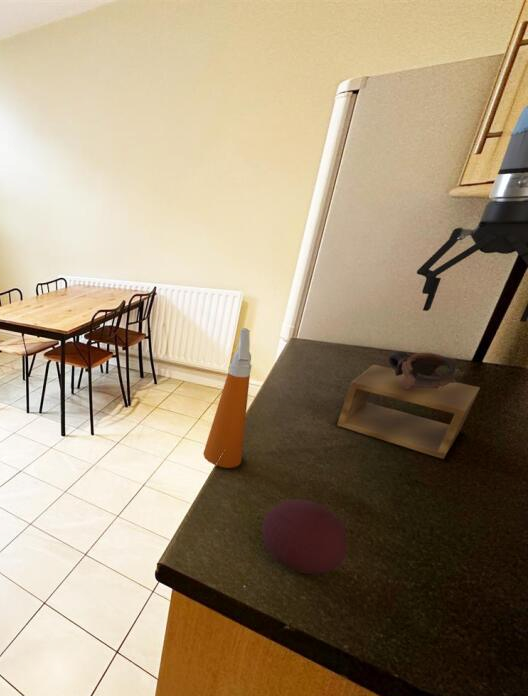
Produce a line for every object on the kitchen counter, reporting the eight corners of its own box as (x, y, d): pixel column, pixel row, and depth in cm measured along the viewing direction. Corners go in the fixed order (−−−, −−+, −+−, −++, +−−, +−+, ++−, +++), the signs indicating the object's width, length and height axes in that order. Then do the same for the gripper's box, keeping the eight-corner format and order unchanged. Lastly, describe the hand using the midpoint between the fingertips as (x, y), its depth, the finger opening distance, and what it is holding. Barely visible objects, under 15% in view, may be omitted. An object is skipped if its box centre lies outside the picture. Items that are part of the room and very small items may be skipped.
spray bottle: (239, 444, 89) (265, 326, 79) (241, 471, 80) (271, 343, 70) (204, 437, 92) (224, 323, 82) (202, 464, 83) (225, 339, 73)
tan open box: (459, 432, 91) (480, 387, 86) (443, 459, 82) (466, 410, 78) (359, 404, 104) (373, 364, 100) (336, 425, 95) (351, 382, 91)
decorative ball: (283, 593, 56) (301, 537, 52) (242, 538, 65) (255, 486, 61) (354, 588, 56) (378, 532, 52) (304, 534, 65) (321, 482, 61)
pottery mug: (457, 389, 87) (474, 364, 81) (421, 413, 86) (436, 390, 80) (397, 359, 95) (408, 334, 89) (364, 380, 95) (373, 357, 89)
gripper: (420, 203, 82) (387, 308, 90) (637, 196, 63) (570, 329, 72) (428, 201, 86) (396, 302, 94) (634, 195, 68) (571, 321, 76)
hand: (471, 314), depth 83 cm, fingers open, 13 cm apart
